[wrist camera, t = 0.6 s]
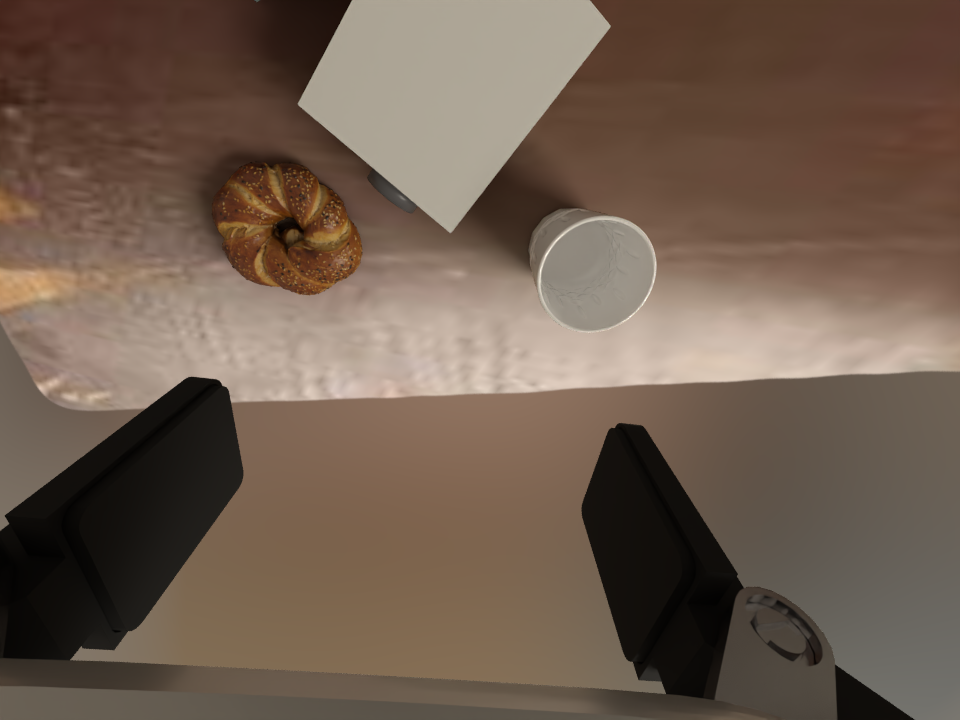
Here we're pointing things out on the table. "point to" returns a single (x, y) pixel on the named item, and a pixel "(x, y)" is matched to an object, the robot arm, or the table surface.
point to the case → (446, 89)
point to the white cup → (591, 268)
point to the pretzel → (297, 250)
